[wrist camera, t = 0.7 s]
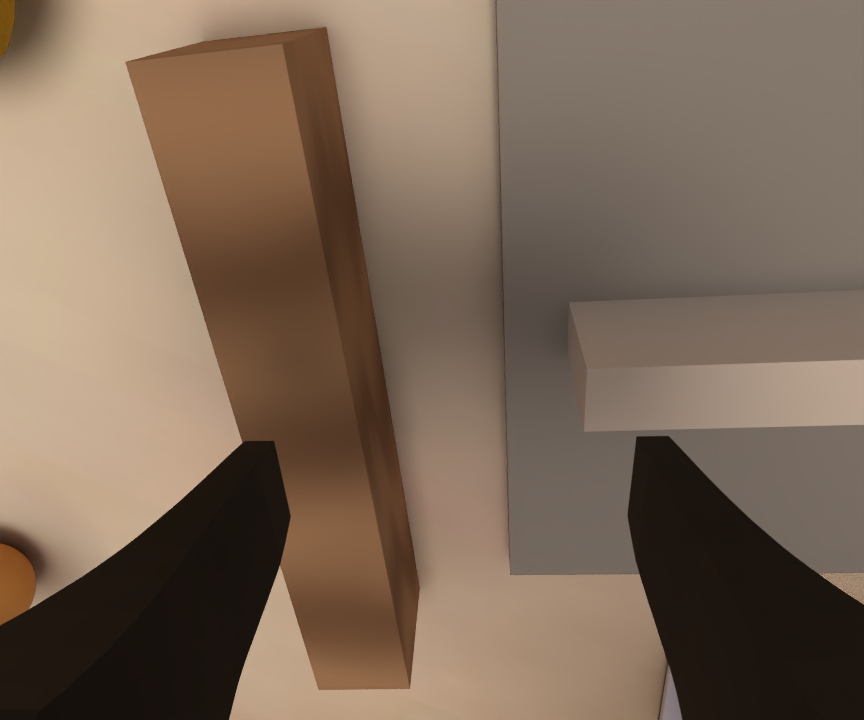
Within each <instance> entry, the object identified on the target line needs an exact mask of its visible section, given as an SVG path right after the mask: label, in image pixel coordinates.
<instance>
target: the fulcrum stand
mask: <svg viewBox="0 0 864 720" xmlns="http://www.w3.org/2000/svg"><path fill="white" fill-rule="evenodd" d="M496 30H497V71H498V111H499V152H500V193H501V234H502V275H503V316H504V356H505V397H506V438H507V479H508V520H509V558H510V575H578V574H639V571H638V567H637V564H636V560H635V555H634V550H633V545H632V539H631V534H630V528H629V522H628V517H627V514H628V505H629V496H630V488H631V479H632V470H633V462H634V453H635V445H636V436H669V437H670V438H671V439H672V440H673V441H674V442H675V443H676V444H677V445H678V446H679V447H680V448H681V449H682V450H683V451H684V452H685V453H686V454H687V456H688V457H689V458H690V459H691V460H692V461H693V462H694V463H695V464H696V465H697V466H698V467H699V468H700V469H701V470H702V471H703V473H704V474H705V475H706V476H707V477H708V478H709V479H710V480H711V481H712V482H713V483H714V484H715V485H716V486H717V487H718V488H719V489H720V490H721V491H722V492H723V493H724V494H725V495H726V496H727V497H728V498H729V499H730V500H731V501H732V502H733V503H734V504H735V505H736V506H737V507H739V508H740V509H741V510H742V511H743V512H744V513H745V514H746V515H747V516H748V517H749V518H750V519H751V520H752V521H753V522H754V523H756V524H757V525H758V526H759V527H760V528H761V529H763V530H764V531H765V532H766V533H767V534H768V535H770V536H771V537H772V538H773V539H774V540H775V541H776V542H778V543H779V544H780V545H781V546H783V547H784V548H785V549H786V550H788V551H789V552H790V553H791V554H793V555H794V556H795V557H796V558H798V559H799V560H800V561H802V562H803V563H804V564H806V565H807V566H808V567H810V568H811V569H812V570H814V571H815V572H817V573H864V0H496Z"/></svg>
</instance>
